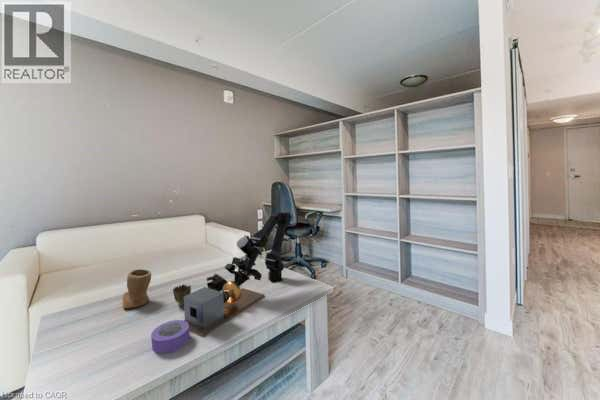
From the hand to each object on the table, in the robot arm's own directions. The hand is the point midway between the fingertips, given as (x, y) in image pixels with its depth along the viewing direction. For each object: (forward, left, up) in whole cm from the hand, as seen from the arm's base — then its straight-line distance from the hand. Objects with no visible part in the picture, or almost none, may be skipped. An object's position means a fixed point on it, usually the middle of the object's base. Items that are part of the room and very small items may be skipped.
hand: (234, 288), depth 115 cm
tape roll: (+27, +15, -8) cm, 32 cm away
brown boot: (+38, -26, -8) cm, 47 cm away
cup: (+20, -12, -8) cm, 25 cm away
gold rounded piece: (+8, +4, -5) cm, 10 cm away
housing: (+4, +3, -7) cm, 9 cm away
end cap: (+3, -20, -8) cm, 22 cm away
